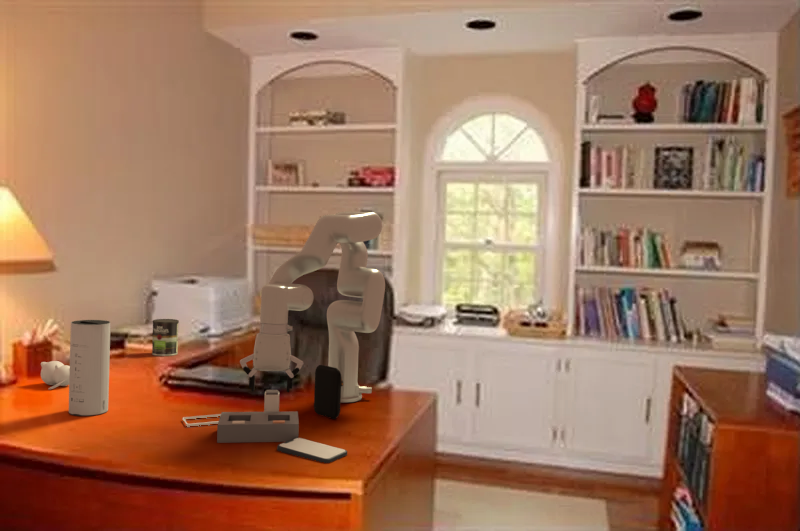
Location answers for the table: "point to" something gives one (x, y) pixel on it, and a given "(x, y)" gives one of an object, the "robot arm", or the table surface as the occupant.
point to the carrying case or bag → (327, 391)
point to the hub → (257, 427)
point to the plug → (271, 401)
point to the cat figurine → (55, 373)
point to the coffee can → (165, 337)
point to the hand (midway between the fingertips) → (270, 390)
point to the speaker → (89, 367)
